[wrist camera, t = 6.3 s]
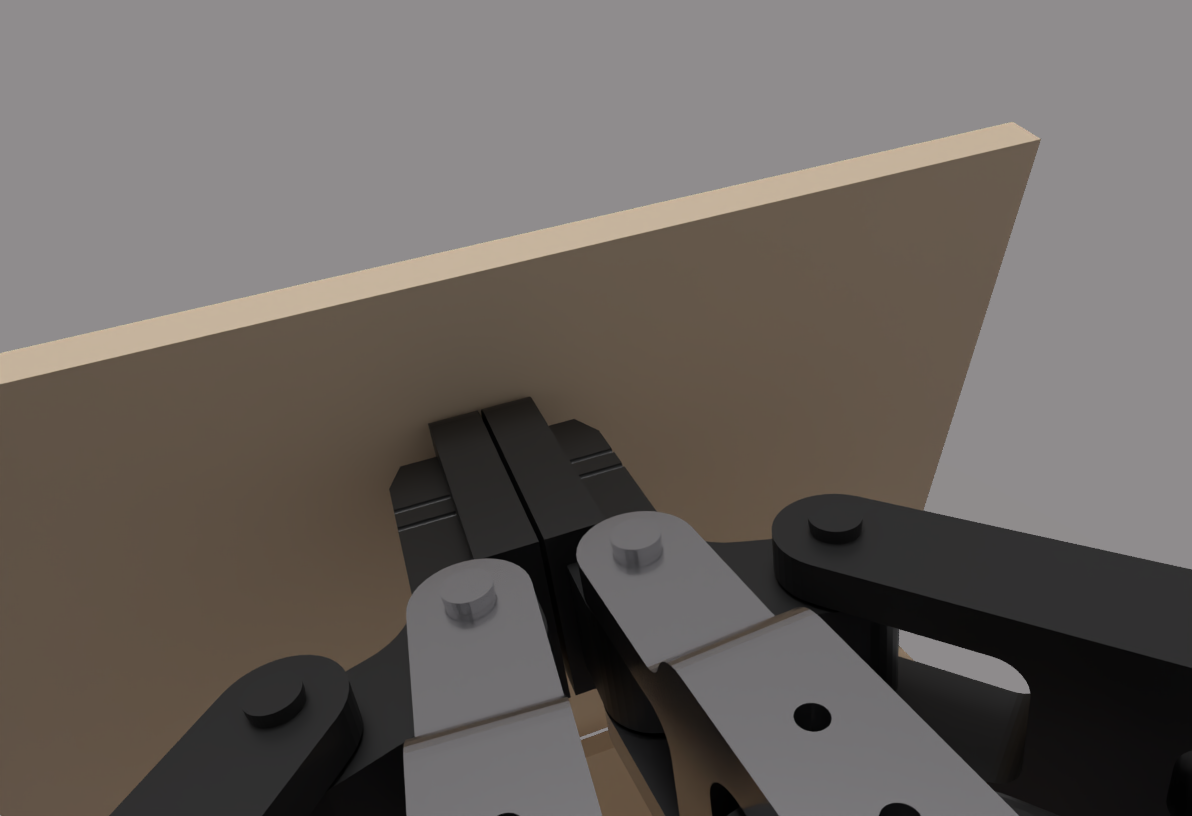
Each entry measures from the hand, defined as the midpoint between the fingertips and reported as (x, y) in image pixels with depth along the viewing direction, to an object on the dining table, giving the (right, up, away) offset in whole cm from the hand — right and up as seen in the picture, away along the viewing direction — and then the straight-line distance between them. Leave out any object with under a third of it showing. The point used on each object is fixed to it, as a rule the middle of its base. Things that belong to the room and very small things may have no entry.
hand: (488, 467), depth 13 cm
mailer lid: (0, -2, +2) cm, 3 cm away
